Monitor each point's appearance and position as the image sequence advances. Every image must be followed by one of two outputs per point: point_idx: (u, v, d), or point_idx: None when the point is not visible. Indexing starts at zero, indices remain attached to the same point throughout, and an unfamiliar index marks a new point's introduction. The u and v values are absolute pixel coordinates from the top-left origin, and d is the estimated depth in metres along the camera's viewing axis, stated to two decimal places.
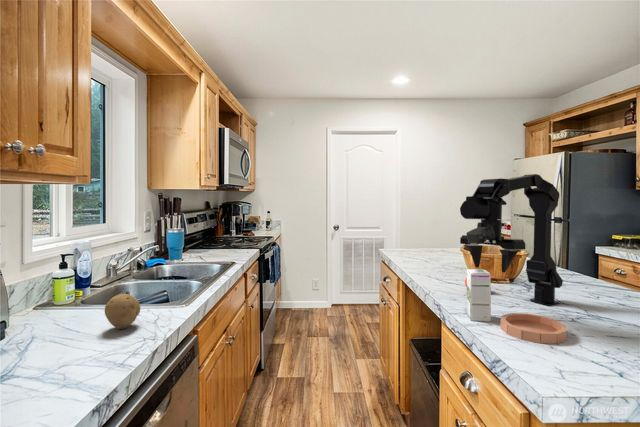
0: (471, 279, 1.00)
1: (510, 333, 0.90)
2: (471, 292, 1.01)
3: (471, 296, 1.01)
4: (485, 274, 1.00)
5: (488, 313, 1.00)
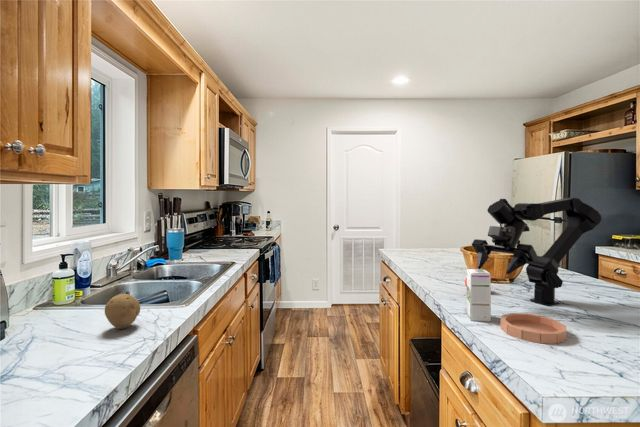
0: (471, 279, 1.00)
1: (510, 333, 0.90)
2: (471, 292, 1.01)
3: (471, 296, 1.01)
4: (485, 274, 1.00)
5: (488, 313, 1.00)
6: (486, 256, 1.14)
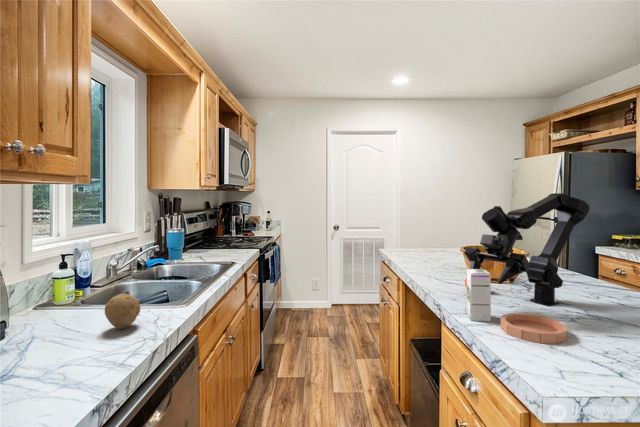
0: (471, 279, 1.00)
1: (510, 333, 0.90)
2: (471, 292, 1.01)
3: (471, 296, 1.01)
4: (485, 274, 1.00)
5: (488, 313, 1.00)
6: (479, 265, 1.12)
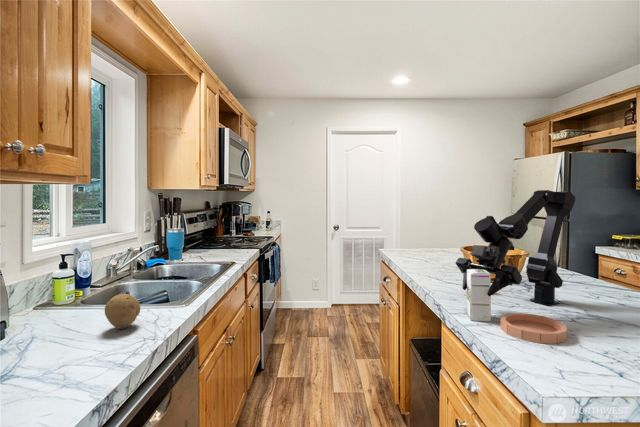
0: (471, 279, 1.00)
1: (510, 333, 0.90)
2: (471, 292, 1.01)
3: (471, 296, 1.01)
4: (485, 274, 1.00)
5: (488, 313, 1.00)
6: None
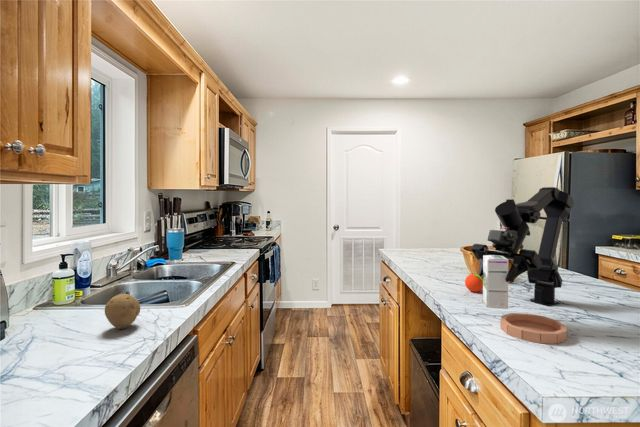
0: (488, 265, 0.97)
1: (510, 333, 0.90)
2: (488, 278, 0.97)
3: (488, 282, 0.97)
4: (503, 260, 0.96)
5: (506, 300, 0.96)
6: None
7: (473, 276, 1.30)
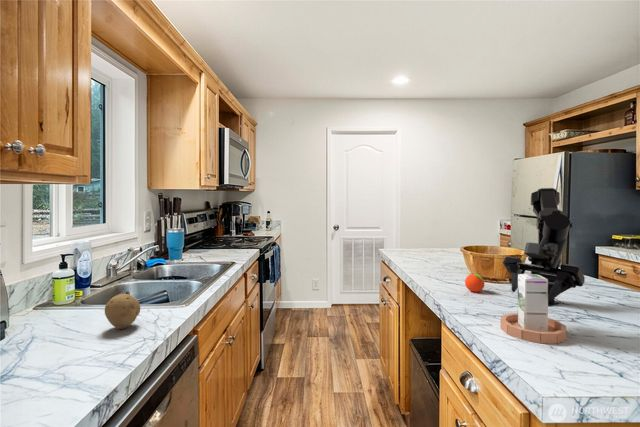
0: (526, 285, 0.90)
1: (510, 333, 0.90)
2: (525, 300, 0.90)
3: (525, 304, 0.90)
4: (542, 280, 0.89)
5: (545, 324, 0.89)
6: None
7: (473, 276, 1.30)
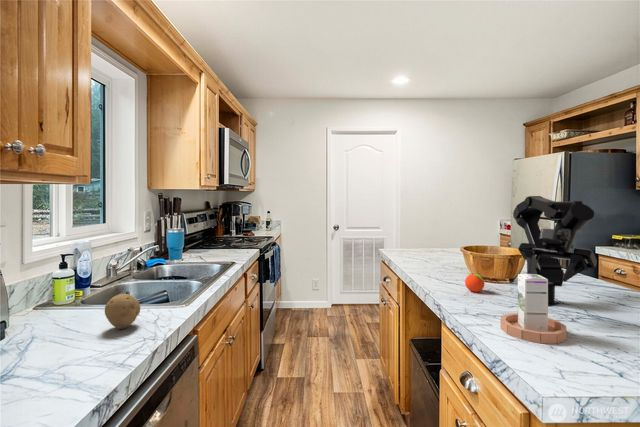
0: (526, 285, 0.90)
1: (510, 333, 0.90)
2: (525, 300, 0.90)
3: (525, 304, 0.90)
4: (542, 280, 0.89)
5: (545, 324, 0.89)
6: (535, 261, 1.04)
7: (473, 276, 1.30)
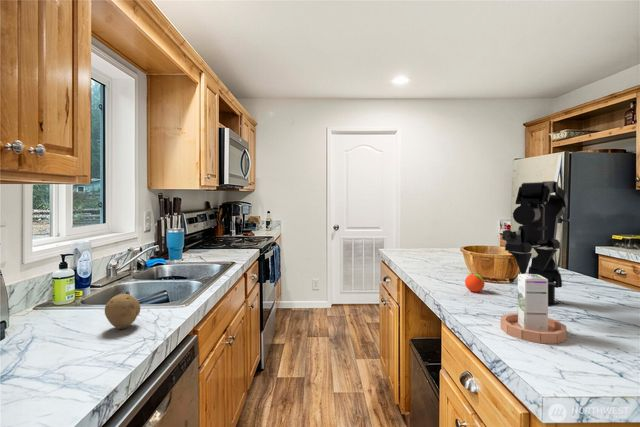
0: (526, 285, 0.90)
1: (510, 333, 0.90)
2: (525, 300, 0.90)
3: (525, 304, 0.90)
4: (542, 280, 0.89)
5: (545, 324, 0.89)
6: (547, 252, 1.07)
7: (473, 276, 1.30)
